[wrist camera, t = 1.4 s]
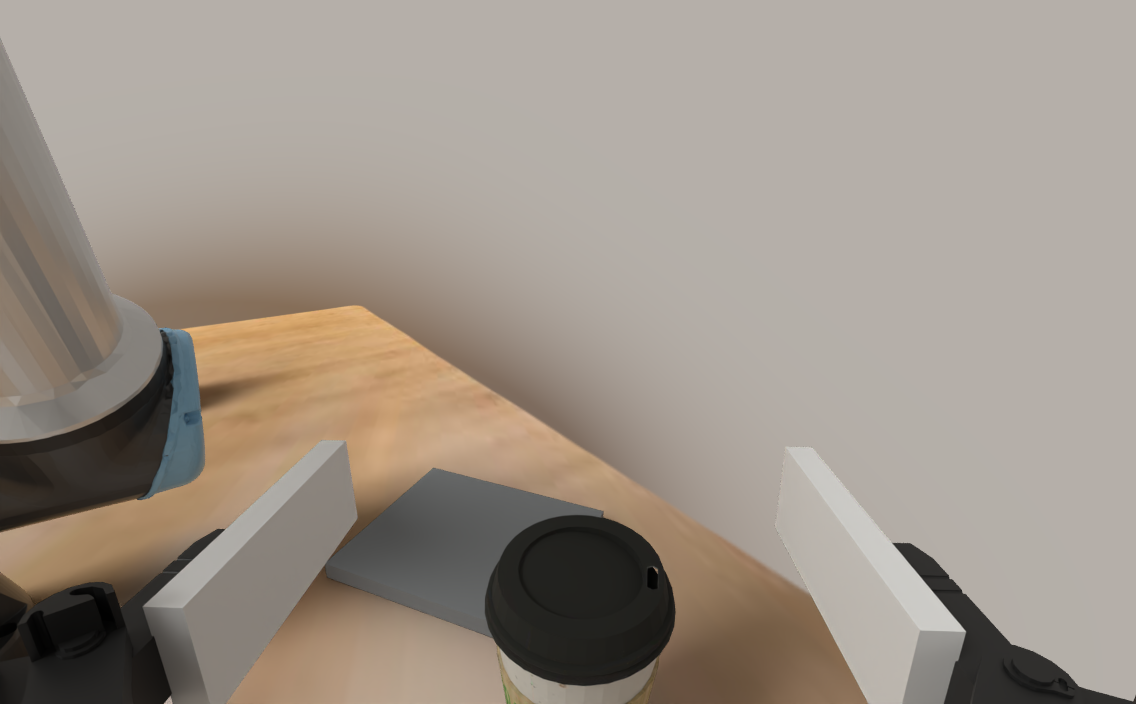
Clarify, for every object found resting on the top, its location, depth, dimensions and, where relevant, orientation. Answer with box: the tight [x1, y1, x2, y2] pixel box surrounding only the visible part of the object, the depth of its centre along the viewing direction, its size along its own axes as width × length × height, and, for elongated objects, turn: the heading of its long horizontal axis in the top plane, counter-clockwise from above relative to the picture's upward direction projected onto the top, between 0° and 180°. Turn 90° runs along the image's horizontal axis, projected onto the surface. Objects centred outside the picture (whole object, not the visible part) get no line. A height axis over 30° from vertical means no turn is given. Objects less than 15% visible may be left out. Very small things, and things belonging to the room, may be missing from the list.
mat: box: [325, 468, 604, 638], centre depth 49 cm, size 20×16×2 cm
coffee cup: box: [485, 515, 675, 704], centre depth 29 cm, size 10×10×15 cm
